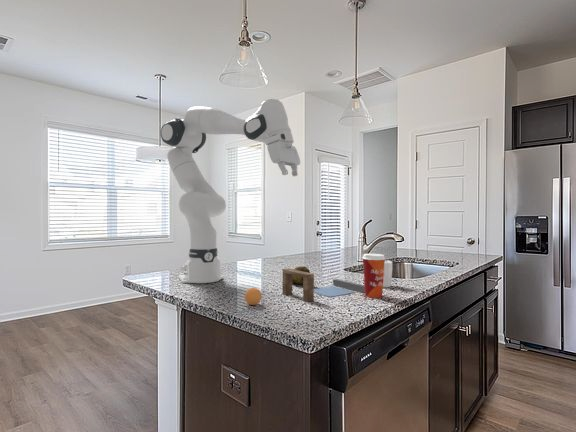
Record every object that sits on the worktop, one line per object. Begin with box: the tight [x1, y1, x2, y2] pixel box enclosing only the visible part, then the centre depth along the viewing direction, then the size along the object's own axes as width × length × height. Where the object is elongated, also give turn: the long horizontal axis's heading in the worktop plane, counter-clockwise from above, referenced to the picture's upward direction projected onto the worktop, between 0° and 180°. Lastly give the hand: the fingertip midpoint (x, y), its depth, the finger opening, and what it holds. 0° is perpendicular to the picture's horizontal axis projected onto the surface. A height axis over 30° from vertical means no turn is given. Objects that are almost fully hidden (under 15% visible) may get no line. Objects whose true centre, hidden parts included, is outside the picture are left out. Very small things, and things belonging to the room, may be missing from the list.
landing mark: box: [314, 285, 357, 298], centre depth 131 cm, size 13×13×1 cm
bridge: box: [282, 268, 315, 303], centre depth 122 cm, size 3×14×9 cm, turn 35°
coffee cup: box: [362, 253, 386, 299], centre depth 124 cm, size 8×8×15 cm
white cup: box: [383, 260, 394, 288], centre depth 142 cm, size 8×8×10 cm
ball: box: [244, 287, 263, 306], centre depth 111 cm, size 6×6×6 cm
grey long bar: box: [332, 278, 365, 294], centre depth 136 cm, size 18×2×2 cm, turn 35°
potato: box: [292, 266, 311, 285], centre depth 144 cm, size 8×13×8 cm, turn 14°
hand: (290, 175), depth 131 cm, fingers open, 8 cm apart
